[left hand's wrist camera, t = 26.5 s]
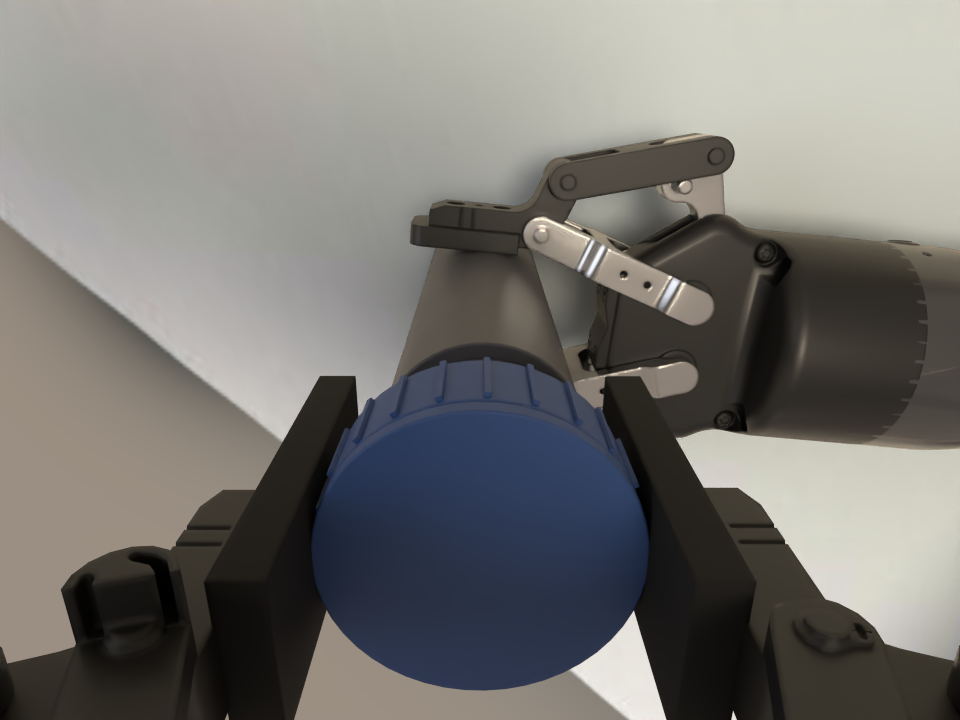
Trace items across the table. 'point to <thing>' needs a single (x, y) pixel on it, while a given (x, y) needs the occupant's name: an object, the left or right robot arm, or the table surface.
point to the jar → (483, 315)
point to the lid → (480, 528)
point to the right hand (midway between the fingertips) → (410, 301)
